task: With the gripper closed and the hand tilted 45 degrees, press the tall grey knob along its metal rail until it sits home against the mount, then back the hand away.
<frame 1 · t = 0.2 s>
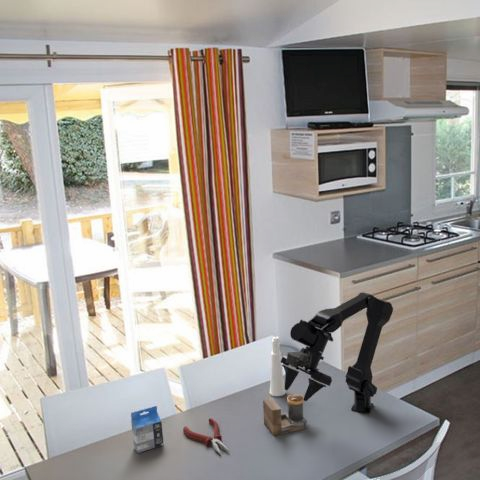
hand: (295, 395, 183), 15 cm above the table, tool tilted 35°, fingers open, 9 cm apart
cosmetic bottle: (277, 393, 217), on the table
label tape box: (148, 447, 185), on the table
mount: (282, 426, 193), on the table
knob: (295, 409, 194), point 5 cm above the table, slide at 4.0 cm
pliers: (205, 441, 188), on the table
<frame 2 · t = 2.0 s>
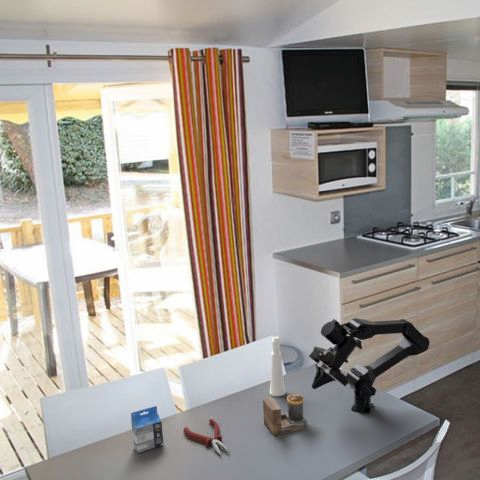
hand: (312, 388, 194), 11 cm above the table, tool tilted 45°, fingers closed
nothing on the table moved.
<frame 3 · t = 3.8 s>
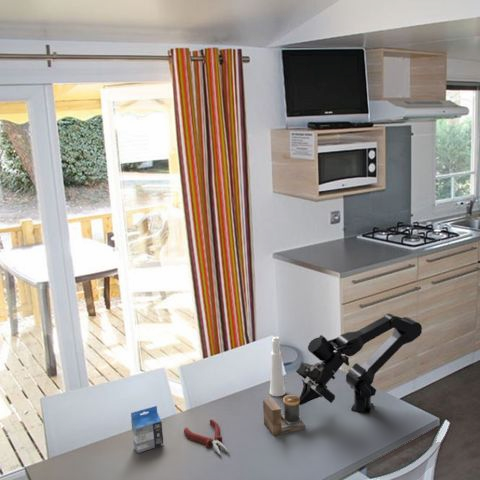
hand: (299, 404, 194), 7 cm above the table, tool tilted 45°, fingers closed, pressing on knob
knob: (291, 409, 193), point 5 cm above the table, slide at 2.6 cm, touching gripper
everything else where it was.
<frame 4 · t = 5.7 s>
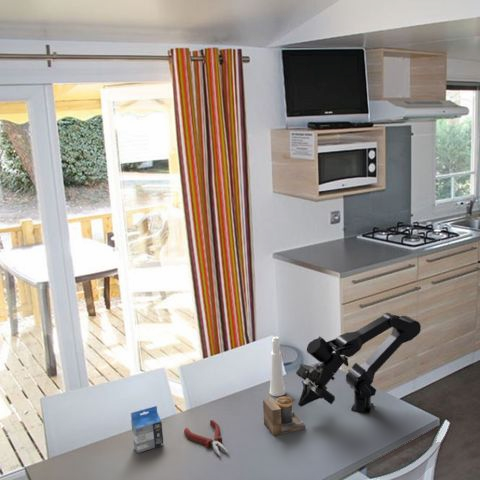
hand: (299, 405, 194), 6 cm above the table, tool tilted 45°, fingers closed
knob: (284, 411, 192), point 5 cm above the table, slide at 0.0 cm
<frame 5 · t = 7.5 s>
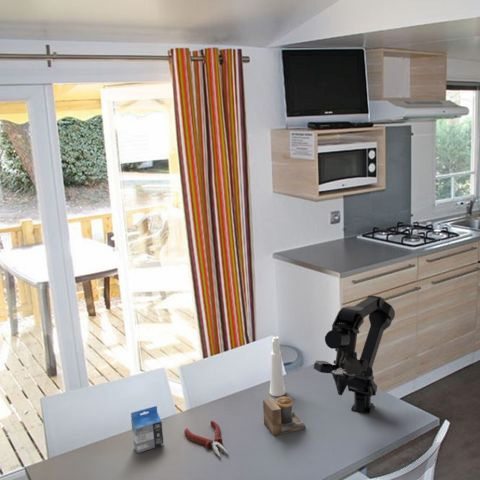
hand: (340, 394, 188), 12 cm above the table, tool tilted 15°, fingers closed
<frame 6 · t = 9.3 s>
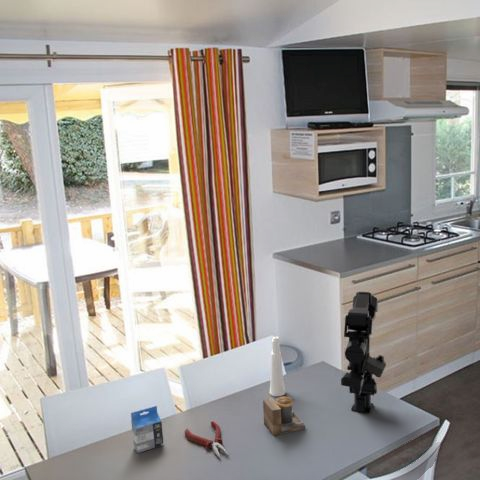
hand: (358, 395, 187), 12 cm above the table, tool pointing down, fingers closed
at the end: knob slide at 0.0 cm; cosmetic bottle moved 0.2 cm from its start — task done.
